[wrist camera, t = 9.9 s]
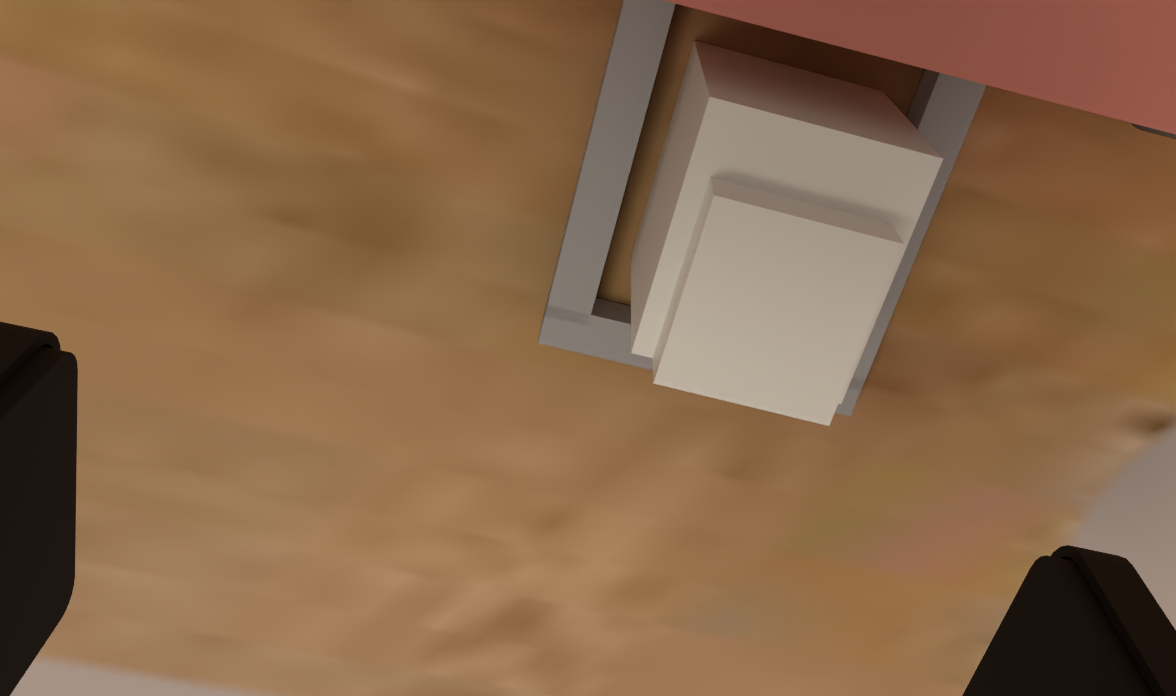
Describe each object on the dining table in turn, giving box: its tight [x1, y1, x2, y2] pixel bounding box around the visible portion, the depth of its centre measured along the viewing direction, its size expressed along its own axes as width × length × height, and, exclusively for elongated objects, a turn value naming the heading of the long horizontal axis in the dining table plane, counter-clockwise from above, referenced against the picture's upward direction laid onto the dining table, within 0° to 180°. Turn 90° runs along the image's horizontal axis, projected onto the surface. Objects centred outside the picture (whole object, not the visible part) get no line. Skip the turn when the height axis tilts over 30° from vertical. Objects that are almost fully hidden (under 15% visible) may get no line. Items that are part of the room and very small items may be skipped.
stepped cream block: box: [631, 40, 943, 426], centre depth 25 cm, size 6×5×7 cm
